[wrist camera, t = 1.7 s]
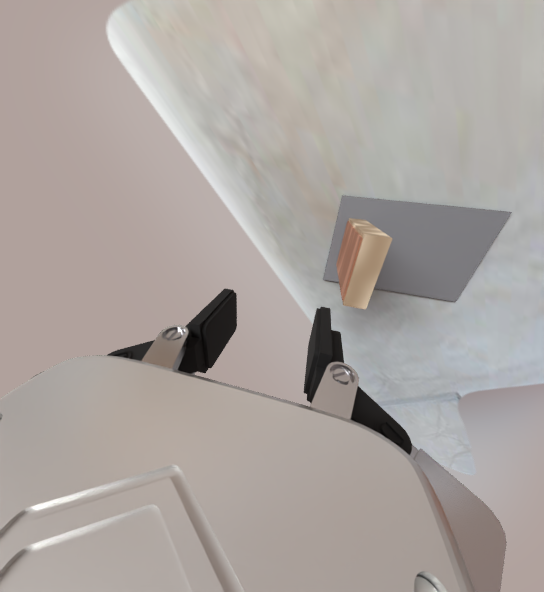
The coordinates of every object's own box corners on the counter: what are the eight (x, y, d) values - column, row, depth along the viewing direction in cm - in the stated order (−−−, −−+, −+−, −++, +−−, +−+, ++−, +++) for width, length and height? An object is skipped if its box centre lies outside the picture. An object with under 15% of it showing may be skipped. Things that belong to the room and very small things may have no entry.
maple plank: (365, 220, 31) (392, 238, 19) (351, 268, 34) (365, 309, 22) (347, 217, 31) (362, 234, 19) (335, 265, 35) (341, 304, 23)
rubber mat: (508, 211, 27) (511, 212, 26) (453, 300, 33) (455, 301, 33) (342, 195, 30) (342, 195, 30) (323, 278, 37) (323, 279, 37)
